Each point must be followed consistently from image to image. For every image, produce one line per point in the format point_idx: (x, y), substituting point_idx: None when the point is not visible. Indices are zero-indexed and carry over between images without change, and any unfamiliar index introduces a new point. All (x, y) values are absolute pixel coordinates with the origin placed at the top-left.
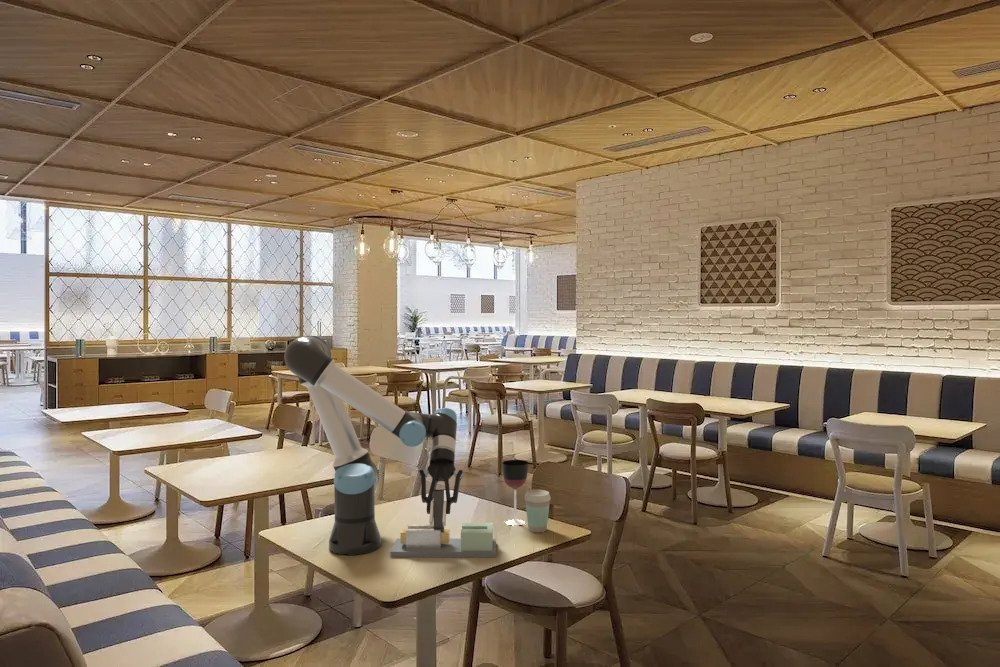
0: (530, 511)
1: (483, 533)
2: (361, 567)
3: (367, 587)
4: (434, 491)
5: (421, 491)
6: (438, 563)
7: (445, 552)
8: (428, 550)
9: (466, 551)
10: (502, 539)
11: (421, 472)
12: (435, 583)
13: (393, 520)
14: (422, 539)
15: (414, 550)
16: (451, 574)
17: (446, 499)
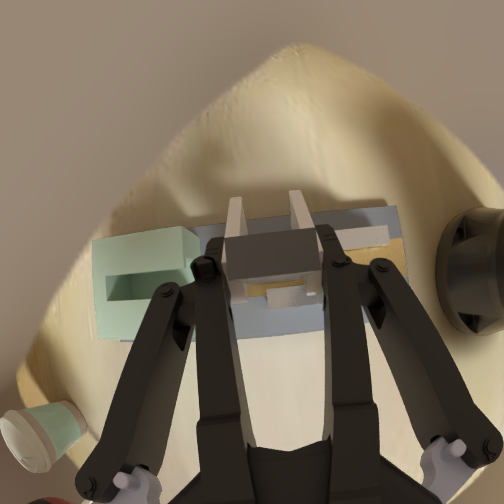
0: (46, 419)
1: (114, 237)
2: (419, 148)
3: (360, 71)
4: (304, 228)
5: (413, 292)
6: (254, 180)
7: None
8: None
9: None
10: (119, 369)
11: (486, 438)
12: (238, 89)
13: None
14: None
15: (337, 221)
16: (211, 128)
17: (220, 270)
